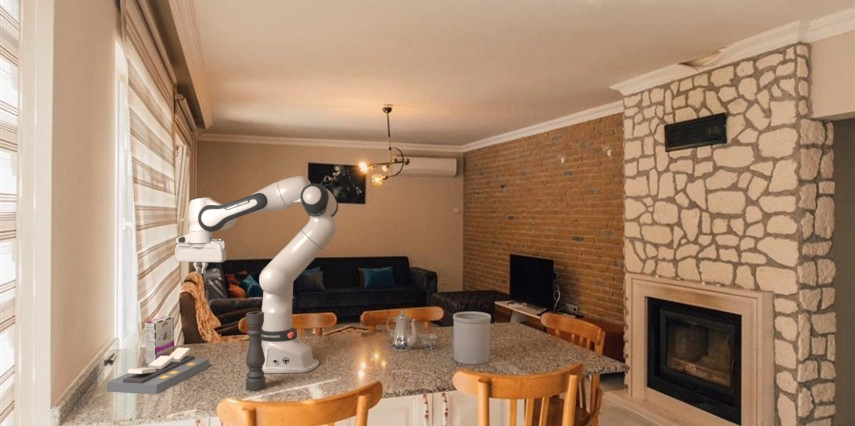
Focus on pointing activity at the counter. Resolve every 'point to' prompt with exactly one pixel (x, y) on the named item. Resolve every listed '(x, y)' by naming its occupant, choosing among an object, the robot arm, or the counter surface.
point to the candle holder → (255, 352)
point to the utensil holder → (471, 337)
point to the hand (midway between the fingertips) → (200, 273)
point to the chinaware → (408, 335)
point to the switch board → (158, 377)
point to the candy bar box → (159, 338)
